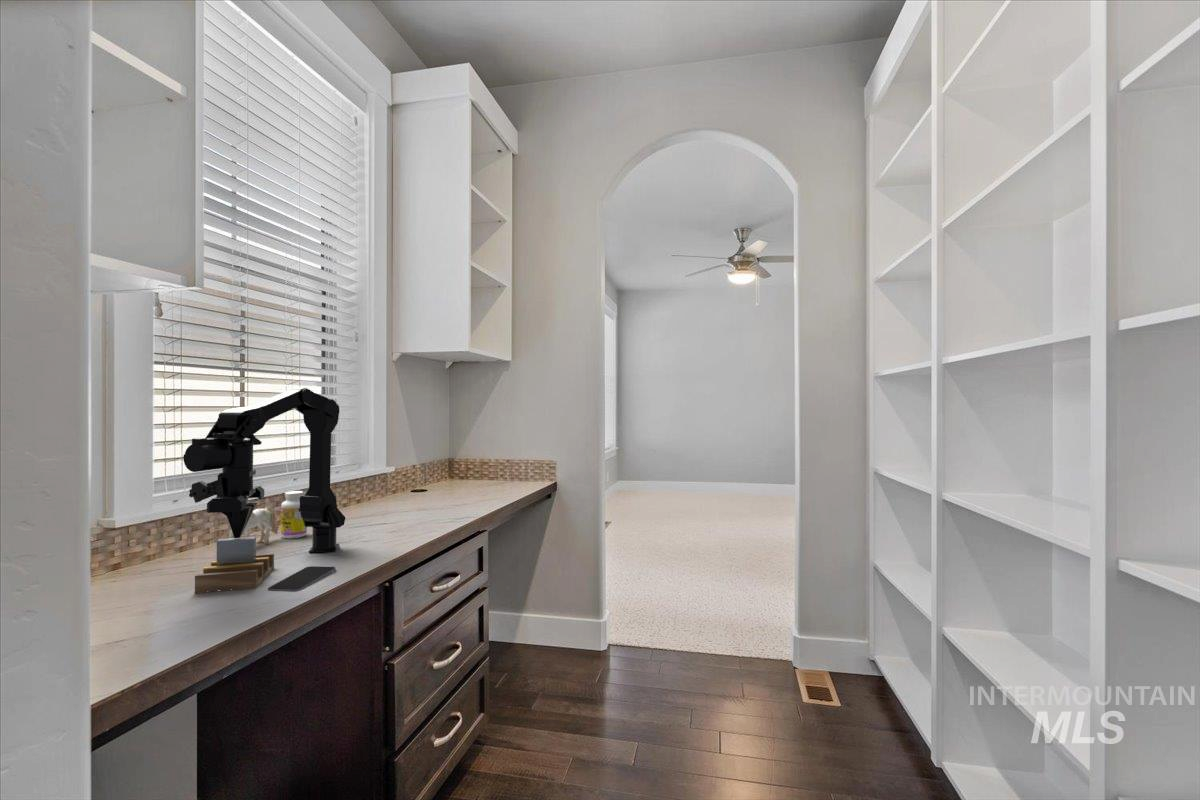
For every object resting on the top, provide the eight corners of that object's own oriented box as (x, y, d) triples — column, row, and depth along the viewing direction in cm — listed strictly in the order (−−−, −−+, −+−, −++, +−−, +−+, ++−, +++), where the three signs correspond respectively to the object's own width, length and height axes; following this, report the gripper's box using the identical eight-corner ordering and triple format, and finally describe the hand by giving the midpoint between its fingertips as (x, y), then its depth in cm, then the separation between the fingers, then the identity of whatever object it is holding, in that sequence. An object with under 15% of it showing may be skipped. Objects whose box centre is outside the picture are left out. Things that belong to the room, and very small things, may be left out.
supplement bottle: (276, 536, 165) (276, 492, 165) (299, 532, 170) (299, 489, 170) (288, 540, 161) (288, 494, 161) (311, 535, 166) (311, 491, 166)
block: (219, 575, 125) (219, 538, 125) (255, 572, 127) (256, 536, 127) (216, 577, 123) (216, 540, 123) (253, 575, 125) (253, 538, 125)
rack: (220, 572, 130) (220, 555, 130) (273, 568, 134) (274, 551, 134) (194, 593, 116) (194, 574, 116) (255, 588, 119) (255, 569, 119)
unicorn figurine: (214, 558, 142) (214, 504, 142) (253, 539, 161) (253, 492, 162) (245, 557, 143) (245, 504, 143) (280, 539, 162) (280, 492, 162)
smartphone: (264, 589, 118) (307, 566, 133) (264, 594, 118) (307, 570, 133) (298, 590, 117) (337, 566, 132) (298, 595, 117) (337, 571, 132)
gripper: (210, 463, 132) (210, 530, 131) (177, 473, 114) (176, 551, 114) (265, 462, 135) (264, 527, 135) (240, 471, 117) (240, 547, 117)
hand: (237, 537), depth 125 cm, fingers closed
